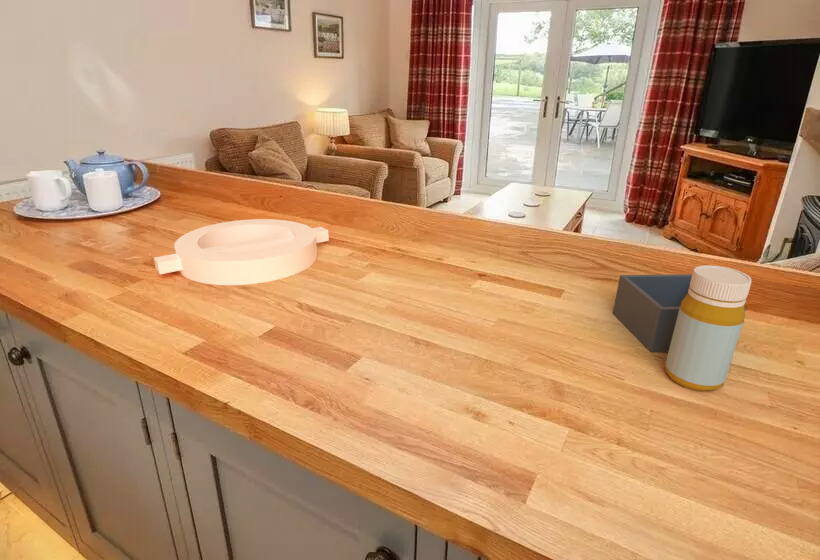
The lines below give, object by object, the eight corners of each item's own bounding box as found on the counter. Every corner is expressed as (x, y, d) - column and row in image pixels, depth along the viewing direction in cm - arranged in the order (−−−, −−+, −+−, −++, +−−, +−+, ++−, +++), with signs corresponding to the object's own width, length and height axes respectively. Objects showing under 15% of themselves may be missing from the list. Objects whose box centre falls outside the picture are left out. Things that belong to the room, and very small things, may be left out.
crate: (684, 311, 84) (694, 274, 81) (733, 350, 72) (746, 307, 69) (612, 313, 83) (619, 274, 80) (650, 352, 71) (660, 309, 69)
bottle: (691, 397, 61) (722, 288, 56) (652, 367, 68) (676, 266, 62) (736, 389, 63) (771, 282, 57) (693, 361, 69) (721, 261, 63)
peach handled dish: (332, 241, 115) (331, 222, 113) (289, 290, 90) (287, 265, 88) (220, 235, 119) (217, 216, 117) (148, 280, 93) (143, 256, 91)
